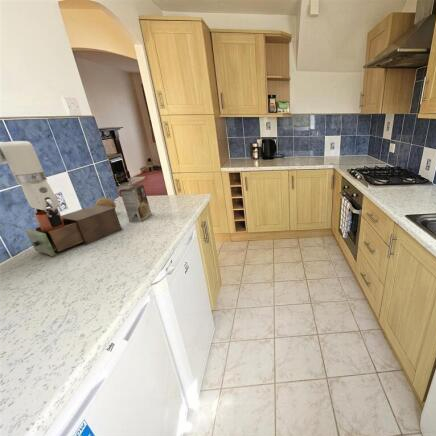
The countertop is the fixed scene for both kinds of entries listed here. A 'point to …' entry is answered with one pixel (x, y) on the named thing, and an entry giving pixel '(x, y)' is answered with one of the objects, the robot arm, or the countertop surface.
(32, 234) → the drawer
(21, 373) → the countertop surface
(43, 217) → the ramekin
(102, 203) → the natural sponge
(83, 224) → the cabinet
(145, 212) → the coffee box
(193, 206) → the countertop surface
